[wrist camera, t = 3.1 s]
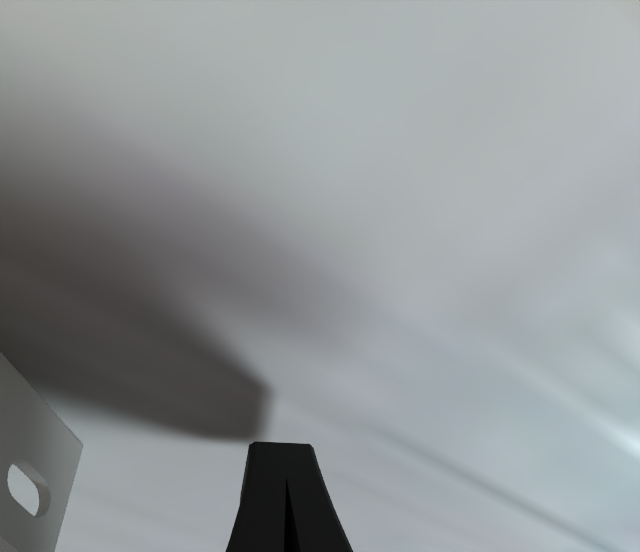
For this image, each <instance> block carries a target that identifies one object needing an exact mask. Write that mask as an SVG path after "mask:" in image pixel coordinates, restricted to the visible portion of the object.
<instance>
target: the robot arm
mask: <svg viewBox="0 0 640 552" xmlns="http://www.w3.org/2000/svg"><path fill="white" fill-rule="evenodd" d="M226 552H353V550H352V548H351V546H350V544H349V541H348V539H347V537H346V535H345V532H344V530H343V528H342V525H341V523H340V521H339V519H338V516H337V514H336V511H335V509H334V507H333V504H332V501H331V499H330V496H329V494H328V491H327V488H326V486H325V483H324V480H323V477H322V474H321V471H320V468H319V465H318V462H317V459H316V455H315V452H314V448H313V447H312V446H311V445H310V444H297V443H275V442H253V443H252V444H250V445H249V449H248V455H247V461H246V467H245V472H244V478H243V484H242V490H241V497H240V506H239V510H238V513H237V517H236V520H235V523H234V527H233V530H232V534H231V537H230V540H229V543H228V546H227V549H226Z"/></svg>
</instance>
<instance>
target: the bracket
mask: <svg viewBox="0 0 640 552" xmlns="http://www.w3.org/2000/svg"><path fill="white" fill-rule="evenodd" d="M82 448H83V444H82V443H81V442H80V441H79V440H78V439H77V438H76V437H75V435H74V434H73V433H72V432H71V431H70V430H69V429H68V427H67V426H66V425H65V424H64V422H63V421H62V420H61V419H60V418H59V417H58V416H57V415H56V413H55V412H54V411H53V410H52V409H51V408H50V407H49V406H48V404H47V403H46V402H45V401H44V400H43V399H42V398H41V397H40V395H39V394H38V393H37V392H36V391H35V390H34V389H33V388H32V386H31V385H30V384H29V383H28V382H27V381H26V380H25V379H24V377H23V376H22V375H21V374H20V373H19V372H18V371H17V370H16V369H15V367H14V366H13V365H12V364H11V363H10V362H9V361H8V360H7V358H6V357H5V356H4V355H3V354H2V353H1V352H0V552H54V551H55V547H56V543H57V540H58V536H59V532H60V529H61V525H62V521H63V518H64V514H65V510H66V507H67V503H68V499H69V496H70V492H71V488H72V485H73V481H74V478H75V474H76V470H77V467H78V463H79V459H80V456H81V452H82ZM12 464H14V465H15V466H17V467H18V468H19V469H20V470H21V471H22V472H23V473H24V474H25V475H26V476H27V477H28V478H29V479H30V480H31V481H32V482H33V483H34V484H35V486H36V488H37V490H38V494H39V508H38V511H37V514H36V515H35V516H33V515H32V514H30V513H29V512H28V511H27V510H26V509H25V508H24V507H23V506H21V505H20V504H19V503H18V502H17V501H16V500H15V499H14V498H13V497H12V495H11V493H10V491H9V488H8V482H7V477H8V471H9V468H10V466H11V465H12Z"/></svg>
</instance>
